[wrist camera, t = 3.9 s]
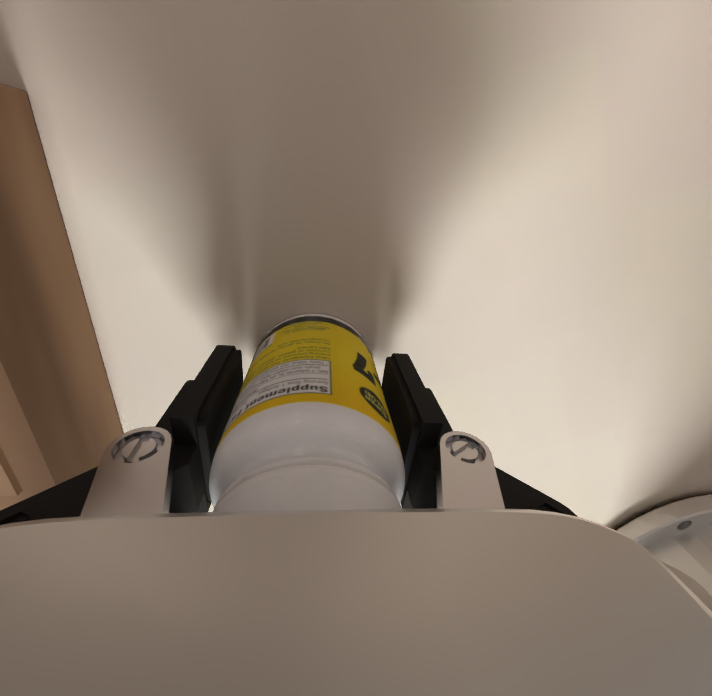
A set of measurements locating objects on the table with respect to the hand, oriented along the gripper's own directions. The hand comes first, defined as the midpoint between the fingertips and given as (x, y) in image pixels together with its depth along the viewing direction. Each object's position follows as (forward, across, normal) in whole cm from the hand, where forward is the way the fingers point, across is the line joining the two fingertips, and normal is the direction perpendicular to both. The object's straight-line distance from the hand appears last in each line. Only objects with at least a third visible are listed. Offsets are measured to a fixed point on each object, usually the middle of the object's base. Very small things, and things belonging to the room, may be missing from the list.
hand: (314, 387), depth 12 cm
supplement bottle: (+2, 0, 0) cm, 2 cm away
